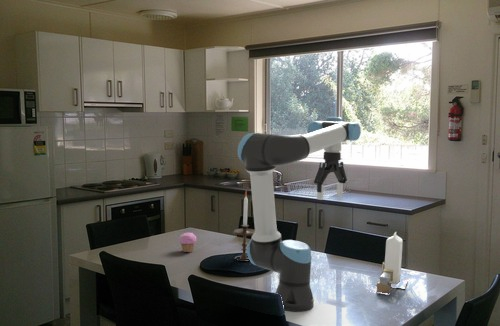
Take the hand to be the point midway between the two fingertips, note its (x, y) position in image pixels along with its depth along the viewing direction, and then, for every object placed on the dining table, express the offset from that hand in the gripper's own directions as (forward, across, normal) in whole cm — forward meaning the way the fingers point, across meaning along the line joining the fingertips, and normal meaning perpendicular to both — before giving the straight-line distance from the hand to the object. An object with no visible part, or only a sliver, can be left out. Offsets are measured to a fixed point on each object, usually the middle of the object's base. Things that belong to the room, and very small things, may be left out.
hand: (329, 198), depth 222 cm
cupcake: (+35, +33, -65) cm, 81 cm away
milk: (+34, -12, +26) cm, 45 cm away
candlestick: (+35, +18, -38) cm, 54 cm away
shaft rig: (+35, -11, +24) cm, 44 cm away
